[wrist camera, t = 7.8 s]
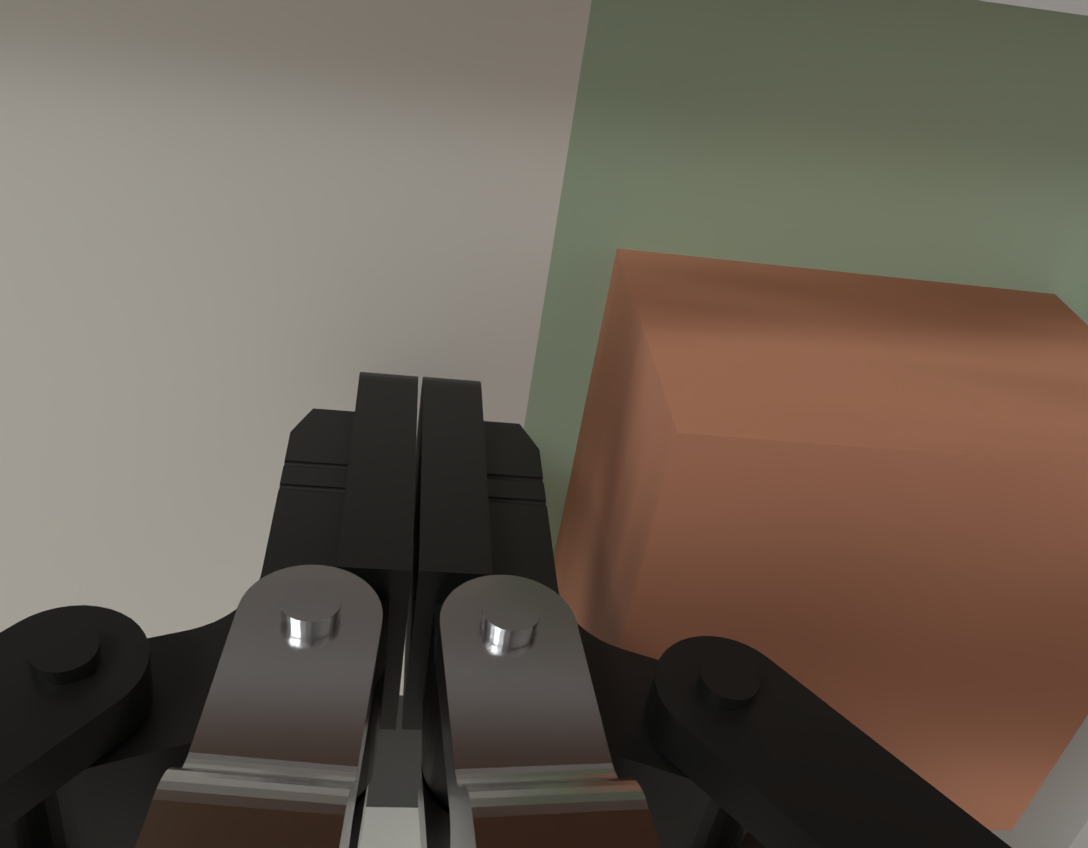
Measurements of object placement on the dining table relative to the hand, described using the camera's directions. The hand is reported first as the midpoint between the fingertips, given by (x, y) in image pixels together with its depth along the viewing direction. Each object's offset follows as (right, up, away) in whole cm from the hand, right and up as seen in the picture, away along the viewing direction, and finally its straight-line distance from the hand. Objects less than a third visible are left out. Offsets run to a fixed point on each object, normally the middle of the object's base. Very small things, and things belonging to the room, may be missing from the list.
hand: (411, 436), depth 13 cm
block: (+5, 0, +2) cm, 5 cm away
